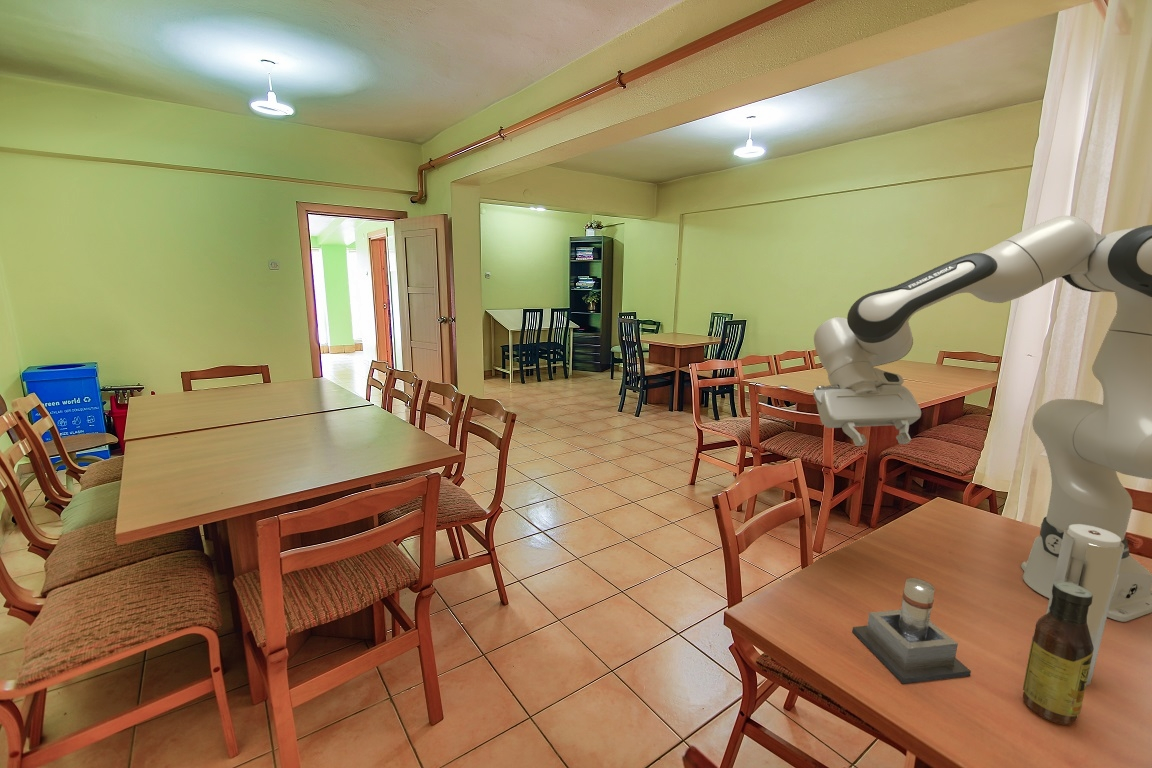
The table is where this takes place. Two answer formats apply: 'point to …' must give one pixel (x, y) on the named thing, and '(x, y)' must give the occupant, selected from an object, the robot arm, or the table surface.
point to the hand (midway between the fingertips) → (883, 443)
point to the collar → (911, 650)
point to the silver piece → (1090, 573)
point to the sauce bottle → (1060, 656)
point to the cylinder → (915, 610)
